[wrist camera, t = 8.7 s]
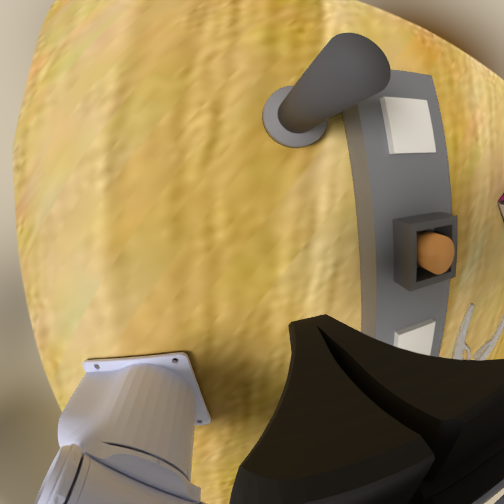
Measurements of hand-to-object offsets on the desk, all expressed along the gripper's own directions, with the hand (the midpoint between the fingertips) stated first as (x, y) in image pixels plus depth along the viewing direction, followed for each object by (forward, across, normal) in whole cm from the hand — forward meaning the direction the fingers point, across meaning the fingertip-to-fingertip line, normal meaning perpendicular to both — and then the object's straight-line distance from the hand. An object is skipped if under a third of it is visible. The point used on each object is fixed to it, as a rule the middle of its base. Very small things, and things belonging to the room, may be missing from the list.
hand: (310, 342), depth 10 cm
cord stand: (+10, -3, -9) cm, 14 cm away
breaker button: (+7, -10, 0) cm, 12 cm away
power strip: (+10, -10, 0) cm, 14 cm away
